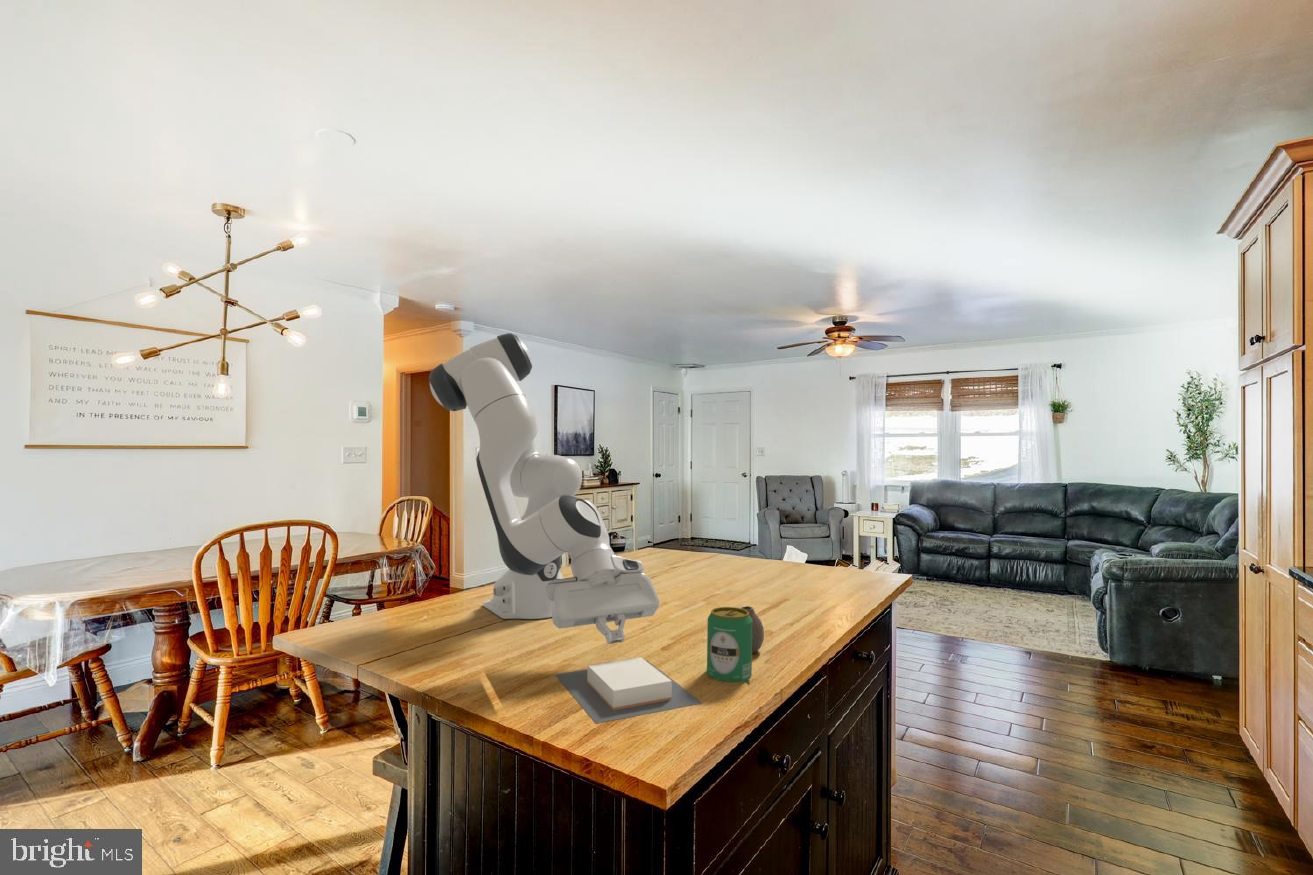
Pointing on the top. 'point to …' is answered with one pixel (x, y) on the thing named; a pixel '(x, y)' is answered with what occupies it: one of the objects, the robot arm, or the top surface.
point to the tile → (629, 683)
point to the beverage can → (729, 644)
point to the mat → (605, 713)
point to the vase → (755, 629)
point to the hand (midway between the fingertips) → (616, 641)
